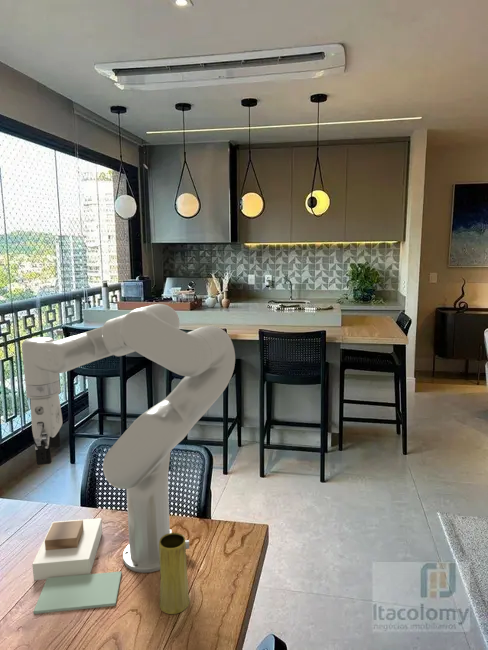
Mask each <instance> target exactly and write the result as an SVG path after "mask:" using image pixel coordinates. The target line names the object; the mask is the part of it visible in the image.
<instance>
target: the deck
mask: <svg viewBox="0 0 488 650" xmlns="http://www.w3.org/2000/svg"><path fill="white" fill-rule="evenodd" d="M80 520H83V529H84V530H83V533H82V535H81V538H80V541H79V544H78V547H77V548H67V549H55V550H45V539H46V537H47V534H48V532H49V530H50V528H51V526H52V524H53V523H55V522H68V521H80ZM102 522H103V521H102V518H101V517H98V518H97V517H96V518H86V519H85V518H84V519H72V520H71V519H70V520H60V521H52V522H51V523H50V527H49V529H48V531H47V533H46V535H45V536H44V540H43V541H42V543H41V545H40V547H39V549H38V551H37V554H36V556H35V558H34V560H33V562H32V565H31V566H32V575H33V581H40V580H41V581H42V580H47V578H55V577H66V576H76V575H87V574H92V570H93V566H94V562H95V559H96V555H97V552H98V549H99V545H100V542H101V537H102V535H103V523H102Z"/></svg>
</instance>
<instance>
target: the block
mask: <svg viewBox="0 0 488 650" xmlns="http://www.w3.org/2000/svg"><path fill="white" fill-rule="evenodd" d="M79 520H80V521H70V520H67V521H68V522H57V521H54V522H55V523H53V524H52V523H51V524H52V526H51V525H50V526H51V528H50V527H49V528H50V530H49V529H48V530H49V532H48V531H47V533H48V534H47V533H46V535H47V537H46V536H45V537H46V539H45V538H44V539H45V550H55V549H67V548H77V547H78V544H79V541H80V538H81V535H82V533H83V530H84V529H83V520H82V519H79Z"/></svg>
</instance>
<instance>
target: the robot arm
mask: <svg viewBox="0 0 488 650" xmlns="http://www.w3.org/2000/svg"><path fill="white" fill-rule="evenodd" d="M134 352H136V353H138V354H139V355H141V356H142V357H145V358H146V359H148V360H150V361H152V362H154V363H156V364H157V365H159V366H161V367H163V368H165V369H167V370H169V371H170V372H172V373H174V374H177V375H179V376H183V378H182V379H181V380H180V382H178V384H177V386H176V387H174V388H173V390H172V391H171V392H169V394H168V395H167V396H166V397H165V398H164V399H162V400H161V401H159V402H158V403H157V404H155V405H153V406H152V407H150V408H149V409H147V410H146V411H145V412H143V413H141V414H140V415H139V416H138V417H137V418H136V419H135V420H133V422H132V423H131V424H130V426H128V427H127V429H125V431H124V432H123V434H122V435H121V436H120V437H119V438H118V439H117V440H116V441H115V443H114V444H113V445H112V446H111V447H110V448H109V449H108V451H107V452H106V454H105V456H104V458H103V463H102V471H103V475H104V477H105V479H106V481H107V482H108V483H109V484H110V485H111V486H112V487H114V488H115V489H120V490H126V507H127V511H126V512H127V525H128V526H127V527H128V545H127V546H126V547H125V548H124V551H123V553H122V561H123V563H124V565H125V567H126V568H127V569H129V570H131V571H132V572H136V573H143V574H144V573H147V574H149V573H153V572H156V571H160V555H159V541H160V539H161V537H163V536H164V535H166V534H169V533H173V531H172V529H170V524H171V523H170V503H169V501H170V500H169V499H170V498H169V469H170V461H171V452H172V450H174V448H175V447H176V446H177V445H179V443H181V442H182V441H183V440H184V439H185V438H186V437H187V436H188V434H189V433H190V432H191V429H193V427H194V426H195V425H197V423H198V421H199V420H200V419H201V418H202V417H203V416H204V415H205V414H206V413H207V412H208V411H209V409H210V408H211V407H212V406H213V404H214V403H215V402H217V400H218V399H219V398H220V396H221V395H222V394H223V393H224V391H225V390H226V388H227V387H228V385H229V383H230V381H231V379H232V378H233V377H232V376H233V373H234V370H235V366H236V365H235V364H236V353H235V347H234V344H233V341H232V338H231V337H230V336H229V335H228V333H227V332H226V331H225V330H224V329H222V328H221V327H218V326H215V325H205V326H201V327H198V328H196V329H193V330H191V331H188V332H186V331H184V330H181V329H180V317H179V315H178V314H177V312H176V310H175V309H174V308H172V306H170V305H168V304H164V303H156V304H150V305H147V306H142V307H138V308H135V309H132V310H130V311H129V312H128V313H126V314H123V315H119V316H116V317H115V318H111V319H108V320H107V321H105V322H104V324H103V325H102V326H100V327H96V328H94V329H92V330H88V331H85V332H82V333H78V334H75V335H70V336H68V337H64V338H62V339H61V338H60V339H57V340H55V339H54V338H52V337H49V336H39V337H38V336H37V337H36V336H35V337H30V338H27V339H25V340H24V341H23V342H22V343H21V354H22V362H23V363H22V364H23V372H24V373H23V374H24V383H25V395H26V398H28V399H30V416H31V417H30V419H31V420H30V421H31V431H32V432H31V433H32V437H33V440H34V449H35V450H34V451H35V458H36V465H37V466H40V465H50V464H52V451H51V448H59V447H61V445H62V444H61V434H60V429H61V428H62V426H63V414H62V409H61V407H62V406H61V402H60V395H59V394H61V387H60V386H61V385H60V378H59V377H60V376H59V375H60V374H63V373H64V374H65V373H67V372H69V371H72V370H74V369H76V368H79V367H82V366H85V365H87V364H90V363H93V362H95V361H99V360H102V359H104V358H108V357H111V356H115V357H122V356H125V355H129V354H132V353H134ZM44 440H45V441H44ZM182 535H183V536H184V537H185V535H184V534H182ZM185 542H186V549H190V539H185Z"/></svg>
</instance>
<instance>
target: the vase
mask: <svg viewBox="0 0 488 650" xmlns="http://www.w3.org/2000/svg"><path fill="white" fill-rule="evenodd" d="M183 535H184V534H182V533H178V532H172V533H169V534H166V535H164V536H163V537H161V539H160V541H159V555H160V570H159V573H160V584H159V585H160V586H159V603H158V604H159V608H160V610H161V611H162V612H163V613H166V614H168V615H177V614H180V613H182V612H184V611H185V610H186V609H187V608H188V607H189V604H190V597H189V584H188V583H189V581H188V567H187V550H186V542H185V540H186V537H185V535H184V536H183Z"/></svg>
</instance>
